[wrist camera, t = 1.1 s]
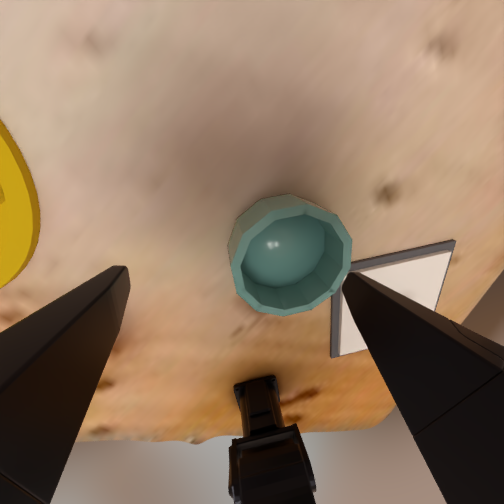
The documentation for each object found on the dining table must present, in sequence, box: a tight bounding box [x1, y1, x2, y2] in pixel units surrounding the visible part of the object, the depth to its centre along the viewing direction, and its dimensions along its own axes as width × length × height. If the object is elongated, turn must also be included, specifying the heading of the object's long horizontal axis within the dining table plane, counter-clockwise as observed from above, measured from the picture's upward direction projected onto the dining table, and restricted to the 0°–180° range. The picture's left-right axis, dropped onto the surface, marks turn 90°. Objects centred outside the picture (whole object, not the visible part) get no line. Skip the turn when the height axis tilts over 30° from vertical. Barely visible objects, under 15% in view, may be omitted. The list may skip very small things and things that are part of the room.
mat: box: [330, 240, 456, 358], centre depth 30 cm, size 16×16×1 cm
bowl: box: [228, 194, 352, 316], centre depth 21 cm, size 11×11×4 cm
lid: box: [338, 250, 451, 356], centre depth 27 cm, size 14×14×6 cm
